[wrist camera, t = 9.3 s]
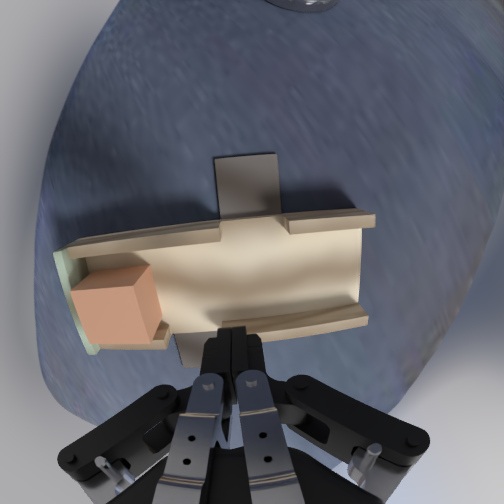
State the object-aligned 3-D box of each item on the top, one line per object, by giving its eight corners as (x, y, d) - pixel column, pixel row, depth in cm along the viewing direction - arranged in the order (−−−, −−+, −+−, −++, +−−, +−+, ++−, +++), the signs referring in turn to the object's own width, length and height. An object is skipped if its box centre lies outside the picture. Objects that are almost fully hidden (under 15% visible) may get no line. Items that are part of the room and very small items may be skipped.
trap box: (69, 187, 20) (41, 192, 16) (354, 152, 21) (379, 150, 17) (119, 365, 26) (106, 391, 22) (349, 346, 27) (364, 371, 23)
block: (93, 271, 22) (69, 290, 18) (150, 264, 22) (133, 285, 18) (107, 318, 23) (89, 343, 19) (162, 315, 24) (150, 343, 19)
